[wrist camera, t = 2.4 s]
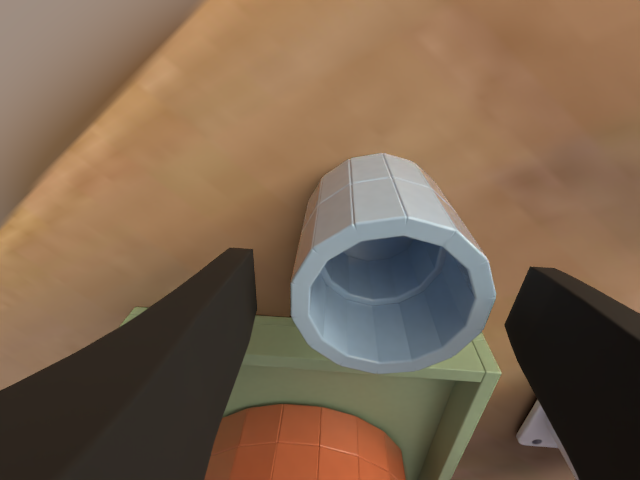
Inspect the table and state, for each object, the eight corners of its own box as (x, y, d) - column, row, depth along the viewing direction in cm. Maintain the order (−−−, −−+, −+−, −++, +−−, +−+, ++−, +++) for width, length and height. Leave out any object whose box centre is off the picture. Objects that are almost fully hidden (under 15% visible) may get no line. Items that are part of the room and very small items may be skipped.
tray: (481, 330, 16) (503, 373, 14) (407, 518, 26) (412, 558, 24) (134, 305, 16) (104, 344, 14) (196, 500, 27) (183, 538, 25)
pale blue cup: (452, 151, 12) (527, 224, 7) (423, 270, 14) (463, 381, 10) (310, 143, 12) (290, 209, 7) (307, 262, 14) (290, 368, 10)
